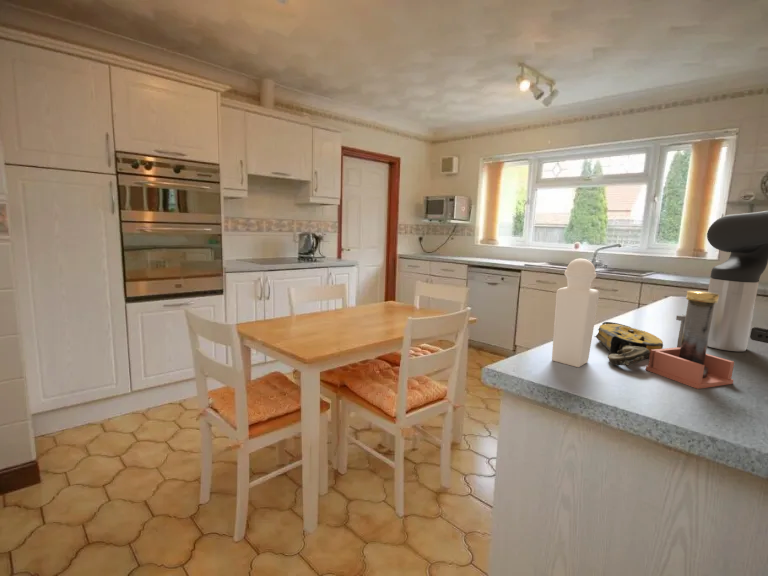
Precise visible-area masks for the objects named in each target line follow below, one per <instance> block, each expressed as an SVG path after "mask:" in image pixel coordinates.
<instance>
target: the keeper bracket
mask: <svg viewBox="0 0 768 576" xmlns="http://www.w3.org/2000/svg"><path fill="white" fill-rule="evenodd" d="M685 317H686V314H681V315H679V314H678V315H676V318H675V319H676V321H679V322H680V325H679V330H678V332H679V333H678V337H677V344H676V347H668V348H666V347H665V348H662V349H654V350H651V351H650V357H649V358H648V365H645V370H646V371H648V372H650V373H654V374H656V375H659V376H661V377H664V378H666V379H670V380H672V381H675V382H678V383H680V384H683V385H686V386H689V387H692V388H694V389H697V390H700V389H706V388H713V387H720V386H727V385H733V384H734V379H733V378H732V377H733V370H734V366H735V361H734V360H731V359H726V358H723V357H719V356H715V355H712V354H709V353H706V356H705V361H704V365H702V364H699V363H696V362H692V361H689V360H686V359H683V358H680V357H679V353H680V347H681V341H682V335H683V329H684V323H685ZM704 366H705V367H707V368H708V369H709V370H708V375H707V377H706V378H703V372H704Z"/></svg>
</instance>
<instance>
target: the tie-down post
mask: <svg viewBox="0 0 768 576" xmlns="http://www.w3.org/2000/svg"><path fill="white" fill-rule="evenodd" d="M718 298H719V294H716V293H710V292H708V291H699V290H687V291H686V297H685V299H686V300H687V306H686V312H685V315H686V317H685V323H684V329H683V335H682V341H681V347H680V353H679V357H680V358H683V359H686V360H689V361H692V362H696V363H699V364H702V365H704V361H705V356H706V354H707V349H708V346H707V344H708V339H709V333H710V328H711V322H712V316H713V311H714V305H715V303H718ZM708 370H709V369H708V368H707V367H705V366H704V372H703V378H706V377H707V375H708Z"/></svg>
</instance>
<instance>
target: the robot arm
mask: <svg viewBox="0 0 768 576" xmlns="http://www.w3.org/2000/svg"><path fill="white" fill-rule="evenodd" d="M706 239H707V241H708V243H709V245H711V246H712V247H713V248H714V249H716V250H718V251H721V252H726V253H729V258H727V260H725V261H724V262H722V263H720V264H718V265H715V266H713V267H712V269H711V271H710V277H709V283H708V287H707V288H708V290H707V292H710V293H716V294H719V298H718V303H715V305H714V311H713V316H712V322H711V328H710V333H709V339H708V344H707V348H708V347H709V348H713V349H716V350H717V349H718V350H722V351H727V352H728V351H729V352H747V351H746V350H747V349H748V345H749V339H750V340H752V341H756V342H760V343H765V344H768V328H766V327H765V328H764V327H759V326H754V327H752V323H753V318H754V312H755V309H754V308H755V305H756V299H757V294H758V289H759V282H760V279H761V276H762V274H763V273H764V272H765V271H766V268H767V265H768V210H764V211H758V212H757V211H756V212H747V213H744V212H743V213H734V214H733V213H732V214H726V215H724V216H721V217H719V218H718V219H716V220H715V221H714V222H713V223H712V224H711V225H710V226H709V228H708V229H707V232H706Z"/></svg>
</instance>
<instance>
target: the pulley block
mask: <svg viewBox="0 0 768 576" xmlns="http://www.w3.org/2000/svg"><path fill="white" fill-rule="evenodd" d="M597 331H598V333H597V334H595V335H594V337H595V338H596V339H597V340H598V341H599V343H601V344H602V345H603V346H604V347H606V349H607V350H609V352H610V354H609V355H608V356H607V359H608V361H609V363H610V364H612V365H613V366H614V365H615V366H625V367H628V366H629V365H631V364H634V363H638V362H642V361H644V360H645V359H649V357H650V351H651V350H654V349H664V347H663V346H664V342H663V340H662V339H661V338H659V337H658V336H656V335H654V334H652V333H650V332H648V331H645V330H641V329H638V328H635V327H634V328H633V327H631V326H628V325H625V324H621V323H618V322H617V323H616V322H611V321H603V323H602V324H601V325H600V326H599V328H598V329H597Z"/></svg>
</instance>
